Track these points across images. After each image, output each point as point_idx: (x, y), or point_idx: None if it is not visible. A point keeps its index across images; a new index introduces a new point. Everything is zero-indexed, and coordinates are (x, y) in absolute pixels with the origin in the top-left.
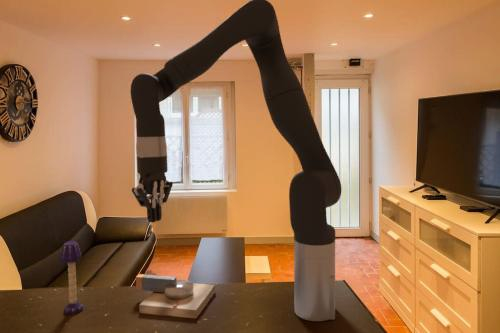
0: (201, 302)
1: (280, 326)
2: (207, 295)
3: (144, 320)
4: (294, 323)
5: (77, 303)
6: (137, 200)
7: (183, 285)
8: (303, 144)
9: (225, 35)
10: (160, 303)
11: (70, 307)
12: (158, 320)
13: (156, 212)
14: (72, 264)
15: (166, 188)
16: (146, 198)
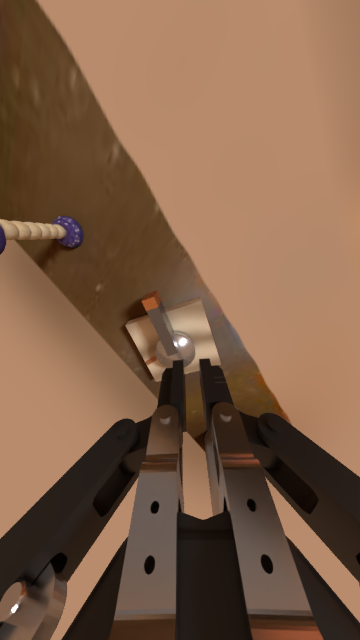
0: None
1: (186, 427)
2: (192, 371)
3: (121, 337)
4: (195, 432)
5: (66, 239)
6: (70, 469)
7: (178, 358)
8: None
9: None
10: (143, 344)
11: (56, 238)
12: (131, 348)
13: (203, 396)
14: None
15: (357, 568)
16: (101, 517)
